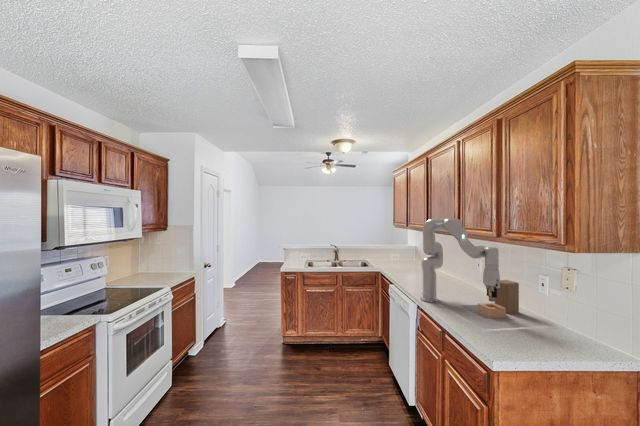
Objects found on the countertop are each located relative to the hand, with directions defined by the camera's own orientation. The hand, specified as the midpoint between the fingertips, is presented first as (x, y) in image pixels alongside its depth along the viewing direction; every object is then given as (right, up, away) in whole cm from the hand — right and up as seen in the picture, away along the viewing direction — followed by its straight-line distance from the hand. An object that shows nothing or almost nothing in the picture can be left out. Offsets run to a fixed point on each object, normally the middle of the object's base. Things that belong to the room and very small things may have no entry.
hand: (491, 296), depth 190 cm
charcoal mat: (-1, -12, +7) cm, 14 cm away
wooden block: (+14, -13, +8) cm, 20 cm away
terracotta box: (0, -11, 0) cm, 11 cm away
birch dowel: (0, -3, 0) cm, 3 cm away
